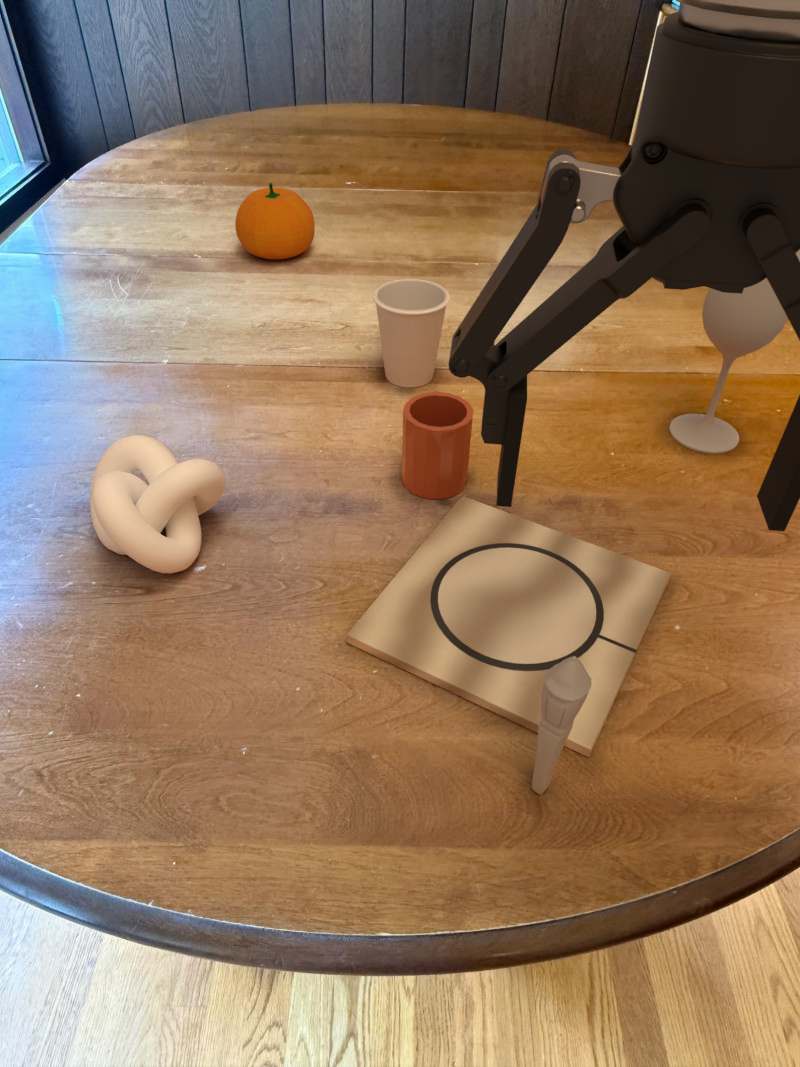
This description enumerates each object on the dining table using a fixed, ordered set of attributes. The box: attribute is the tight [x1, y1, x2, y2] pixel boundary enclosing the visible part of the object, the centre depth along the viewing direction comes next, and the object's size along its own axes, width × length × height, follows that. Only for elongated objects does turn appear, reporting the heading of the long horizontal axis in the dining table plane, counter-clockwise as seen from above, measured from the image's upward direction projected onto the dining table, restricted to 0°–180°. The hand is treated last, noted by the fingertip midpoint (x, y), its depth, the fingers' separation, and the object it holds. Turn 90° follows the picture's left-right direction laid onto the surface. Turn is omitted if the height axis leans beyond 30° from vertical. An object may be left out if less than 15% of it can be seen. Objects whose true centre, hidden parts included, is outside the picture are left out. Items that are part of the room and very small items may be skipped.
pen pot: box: [401, 391, 474, 500], centre depth 74 cm, size 6×6×8 cm
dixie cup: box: [372, 278, 451, 388], centre depth 88 cm, size 8×8×10 cm
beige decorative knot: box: [89, 434, 227, 574], centre depth 66 cm, size 11×12×9 cm
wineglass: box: [668, 250, 800, 455], centre depth 76 cm, size 8×8×21 cm
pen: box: [531, 656, 591, 796], centre depth 47 cm, size 2×3×14 cm
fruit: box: [234, 182, 316, 261], centre depth 114 cm, size 12×12×10 cm
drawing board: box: [346, 495, 672, 758], centre depth 63 cm, size 20×20×1 cm
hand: (635, 502), depth 40 cm, fingers open, 13 cm apart
